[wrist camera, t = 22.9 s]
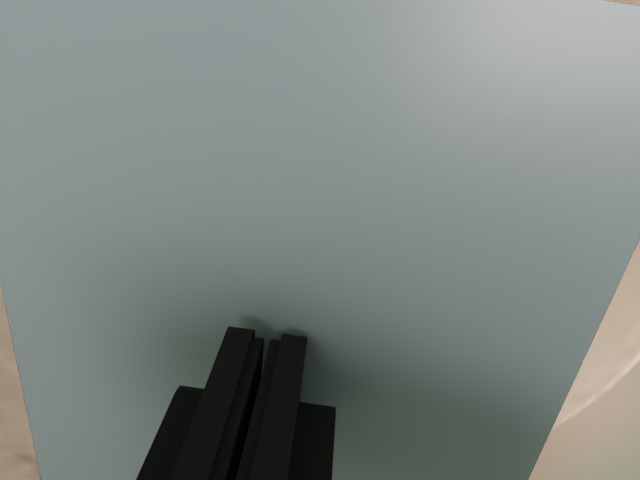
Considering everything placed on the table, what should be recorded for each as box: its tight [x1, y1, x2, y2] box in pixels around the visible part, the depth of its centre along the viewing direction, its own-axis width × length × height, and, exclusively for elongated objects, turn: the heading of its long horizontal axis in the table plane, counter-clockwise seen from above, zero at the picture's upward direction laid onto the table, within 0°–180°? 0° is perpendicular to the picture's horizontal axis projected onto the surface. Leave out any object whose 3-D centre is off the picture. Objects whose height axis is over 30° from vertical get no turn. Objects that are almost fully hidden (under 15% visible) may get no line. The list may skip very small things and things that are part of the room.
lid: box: [0, 0, 640, 480], centre depth 12 cm, size 16×13×1 cm
